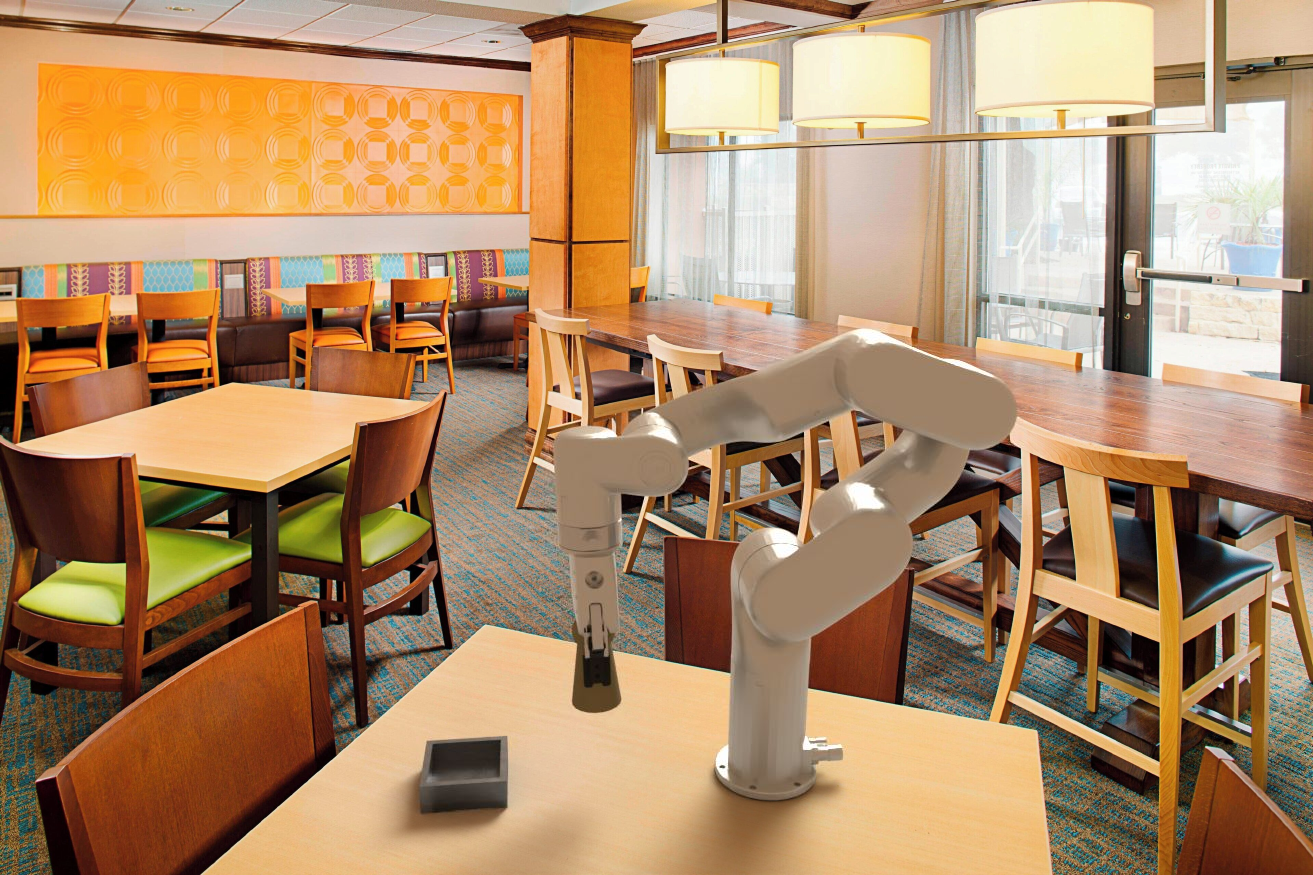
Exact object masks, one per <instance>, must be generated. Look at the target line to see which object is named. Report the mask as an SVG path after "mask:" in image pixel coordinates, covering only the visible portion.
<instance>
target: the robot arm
mask: <svg viewBox="0 0 1313 875" xmlns="http://www.w3.org/2000/svg"><path fill="white" fill-rule="evenodd" d="M854 410H858V411H860V412H861V413H862V414H864V415H866V416H869V417H871V418H872V419H876V420H879V421H880V422H883V423H885V424H889V425H892V426H894V427H896V428H899V429H901V430H902V432H901V433H900V435H899V437H897V439H896V440H895V441H894V442H893V443H892V444H890V446H889V447H887V448H886V449H884V450H883V451H882V452H881V453H879V454H878V455H877V456H876V457H874V458H873V459H872V460H870V461H868V462H867V463H866V464H865V463H864V465H862V466H861V467H860V468H858V469H856V470H855V471H853V472H852V473H851V474H849V475H848V476H846V477H845V478H843V479H842V480H840V481H839V482H837V483H836V484H835V485H834V484H833V486H831V487H830V488H828V489H827V490H826V491H824V492H822V494H821V495H820V496H818V498H817V499H816V500H815V501H814V502H813V504H812V505H811V508H810V511H809V517H808V518H809V527H810V530H811V533H812V535H813V537H814V538H812V539H811V540H810V541H808V542H806V543H805V544H804V542H803V541H802V540H801V539H799V538H798V537H797V536H796V535H795V534H793V533H792V532H790V531H789V530H786V529H783V528H779V527H762V528H760V529H757V530H754V531H752V532H751V533H749V534H748V535H746V536H745V537H744V538H743V539H742V541H740V542H739V544H738V546H736V550H735V551H734V554H733V556H732V557H733V558H732V561H731V567H730V591H731V592H730V593H731V594H730V595H731V596H730V597H731V624H732V626H731V653H730V654H731V656H730V674H729V676H730V679H729V680H730V681H729V683H730V684H729V706H728V707H729V709H728V713H729V714H728V737H727V738H728V740H727V742H728V744H727V745H726V746H724V747H722V749H720V750H719V751H718V753H717V755H716V756H715V760H714V771H715V775H716V777H717V779H718V780H719V782H721V783H722V784H723V785H724V786H725V787H726V788H728V789H729V790H731V791H732V792H734V793H736V794H738V795H741V796H744V797H745V798H750V799H754V800H760V801H761V800H762V801H782V800H788V799H791V798H792V799H793V798H796V797H798V796H800V795H802V794H804V793H806V792H807V791H809V790H810V789H811V788H812V787H813V785H814V784H815V782H816V780H817V779H816V778H817V776H816V775H817V765H818V764H819V762H825V761H827V762H834V761H835V762H837V761H843V759H844V751H843V748H842V747H843V746H842V745H841V744H828V742H827V738H826V737H825V736H815V737H812V738H811V737H810V738H809V737H808V736H807V735H806V732H807V731H806V729H807V716H808V715H807V711H808V697H809V696H808V694H809V693H808V692H809V679H810V678H809V677H810V674H809V673H810V664H811V663H810V662H811V647H812V646H811V643H812V638H813V637H814V636H816V635H818V634H820V633H821V632H823V631H824V630H826V629H828V628H830V627H831V626H833V625H834V624H835V623H837V622H839V621H840V620H842V619H843V618H844V617H846V616H848V615H849V614H850V613H852V612H854V611H855V610H857V608H859V607H861V606H863V605H864V604H865V603H867V602H868V601H870V600H871V599H872V598H874V597H876V596H877V595H879V594H880V593H882V592H883V591H884V590H885V589H887V588H888V587H890V586H891V585H892V584H893V583H894V582H896V581H897V580H898V578H899V577H900V576H901V575H902V574H903V572H904V571H905V570H906V568H907V566H908V564H909V561H910V560H911V557H912V554H913V549H914V539H913V533H912V529H911V527H910V525H909V524H911V523H912V522H913V521H915V520H916V519H917V518H919V517H920V516H921V515H922V514H924V513H925V512H926V511H928V510H929V509H931V507H933V506H935V504H937V503H938V502H940V501H941V500H942V499H943V498H944V497H945V496H946V495H948V493H949V492H950V491H951V490H952V489H953V487H954V486H955V485H956V484H957V483H958V481H959V479H960V477H961V475H962V473H963V471H964V468H965V466H966V465H967V461H968V458H969V456H970V451H981V450H986V449H990V448H993V447H995V446H996V445H999V444H1000V443H1002V442H1003V441H1004V440H1005V439H1006V438H1007V437H1008V436H1010V433H1012V431H1013V429H1014V427H1015V425H1016V422H1017V418H1018V404H1017V400H1016V397H1015V394H1014V393H1013V391H1012V389H1011V388H1010V387H1009V386H1008V384H1007V383H1006V382H1005V381H1004V380H1002V379H1000V378H999V377H997V376H996V375H993V374H991V373H989V372H987V371H985V370H982V369H980V368H978V367H976V366H974V365H971V364H970V363H969V364H968V363H966V362H964V361H962V360H957V359H953V358H942V357H940V356H939V357H938V356H936V355H932V354H930V353H928V352H925V351H923V350H920V349H917V348H915V347H912V346H910V345H908V344H905V343H903V342H902V341H899V340H897V339H895V338H892V337H890V336H888V335H886V334H883V333H882V332H880V331H877V330H874V329H868V328H860V329H852V330H850V331H847V332H845V333H841V334H839V335H837V336H834V337H832V338H830V339H827V340H825V341H822V342H821V343H818V344H817V345H813V346H812V347H809V348H807V349H804V350H802V351H800V352H798V353H796V354H794V355H791V356H789V357H787V358H784V359H782V360H779V361H778V362H775V363H773V364H770V365H768V366H766V367H764V368H762V369H759V370H757V371H754V372H751V373H750V374H749V373H748V374H746V375H742V376H737V377H735V378H731V379H728V380H725V381H723V382H719V383H717V384H715V383H714V384H712V385H709V386H705V387H702V388H699V389H696V390H692V391H690V392H688V393H685V394H683V395H682V394H681V395H680V396H677V397H675V398H673V399H671V400H669V401H667V402H664V403H662V404H659V405H657V406H656V407H653V408H651V409H648V410H646V411H644V412H643V413H640V414H639V415H637V416H636V417H634V418H633V419H632V420H630V421H629V422H628V423H627V425H626V426H625V427H624V429H623V430H622V432H621V435H617V434H616V433H615V431H613V430H612V429H610V428H607V427H603V426H598V425H583V426H573V427H569V428H566V429H564V430H561V431H560V432H558V433H557V434H556V435H555V438H554V440H553V450H552V451H553V464H554V465H553V466H554V468H553V469H554V470H553V471H554V472H553V473H554V487H555V488H554V490H555V507H556V510H555V511H556V523H557V524H556V525H557V527H556V528H557V546H558V549H559V550H560V551H562V552H563V553H565V554H568V558H569V559H568V560H569V575H570V576H569V577H570V578H569V579H570V587H571V598H572V604H573V606H572V607H573V612H574V617H575V619H576V622H577V627H578V632H579V634H580V635H581V636H583V637H584V650H585V655H582V656H583V678H584V686H585V687H586V688H590V687H592V686H593V684H594V683H595V684H598V683H602V685H603V686H609V685H610V684H611V669H610V653H608V632H607V627H608V629H609V631H610V633H615V635H617V634H619V632H620V631H621V628H620V627H621V626H620V614H619V612H620V610H619V597H618V596H619V594H618V593H619V591H618V590H619V589H618V575H617V562H616V561H617V560H616V555H615V554H616V553H615V552H616V551H618V550H619V549H620V548H621V547H622V546H623V521H622V519H623V518H622V517H623V515H622V495H625V494H626V495H632V496H641V497H650V498H651V497H655V498H657V497H662V496H667V495H669V494H672V493H674V492H676V491H677V490H678V489H679V488H680V487H681V486H682V485H683V484H684V483H685V481H686V479H687V477H688V474H689V466H690V462H689V457H692V456H694V455H697V454H699V453H701V452H704V451H707V450H709V449H711V448H714V447H718V446H721V445H726V444H730V443H736V442H755V443H777V442H783V441H786V440H788V439H791V438H793V437H795V436H797V435H799V434H801V433H803V432H806V431H808V430H811V429H813V428H816V427H818V426H819V425H822V424H824V423H827V422H829V421H831V420H834V419H836V418H838V417H840V416H843V415H846V414H847V413H850V412H853V411H854ZM602 626H603V628H604V629H602ZM587 627H591V631H587ZM590 637H592V642H590V643H589V638H590Z"/></svg>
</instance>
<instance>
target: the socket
mask: <svg viewBox="0 0 1313 875" xmlns="http://www.w3.org/2000/svg"><path fill="white" fill-rule="evenodd" d="M508 746H509V745H508V735H500V736H483V737H482V736H481V737H469V738H468V737H467V738H466V737H465V738H450V739H449V738H448V739H433V740H426V742H425V750H424V755H423V760H422V761H423V762H422V768H421V774H420V781H419V784H418V785H419V786H418V787H419V806H420V807H419V808H420V813H419V814H430V813H431V814H433V813H434V814H435V813H446V812H447V813H448V812H459V811H460V812H461V811H462V812H463V811H474V810H489V809H491V810H492V809H500V808H501V809H503V808H504V809H505V808H508V802H509V801H508V800H509V799H508V794H509V793H508V789H509V786H508V783H509V782H508V781H509V780H508V778H509V754H508V753H509V747H508Z"/></svg>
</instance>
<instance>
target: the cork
mask: <svg viewBox="0 0 1313 875" xmlns="http://www.w3.org/2000/svg"><path fill="white" fill-rule="evenodd" d="M602 629H604V628H603V626H602ZM587 631H591V627H587ZM607 632H608V653H610V669H611V684H610V685H609V686H603V685H602V683H598V684H595V683H594V684H593V686H592V687H590V688H586V687H585V686H584V678H583V656H582V655H585V650H584V637H583V636H581V635H580V634H579V632H578V627H577V622H576V618H575V619H574V621H573V623H572V626H571V635H572V638H573V641H574V642H575V644H576V652H575V662H574V663H575V664H574V672H573V673H574V674H573V685H572V696H571V704H572V707H574V709H575V710H576V709H577V711H579V712H583V713H588V714H591V713H592V714H599V713H600V714H601V713H606V712H609V711H612V710H614V709H615V708H617V707H618V706H619V705H620V704H621V703H622V694H621V689H620V688H621V687H620V684H619V678H618V672H617V666H616V660H615V656H614V649H613V645H612V642H613V641H614V640H615V635H616V634H615V633H610V631H609V629H608V627H607ZM590 642H592V637H590V638H589V643H590Z"/></svg>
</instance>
